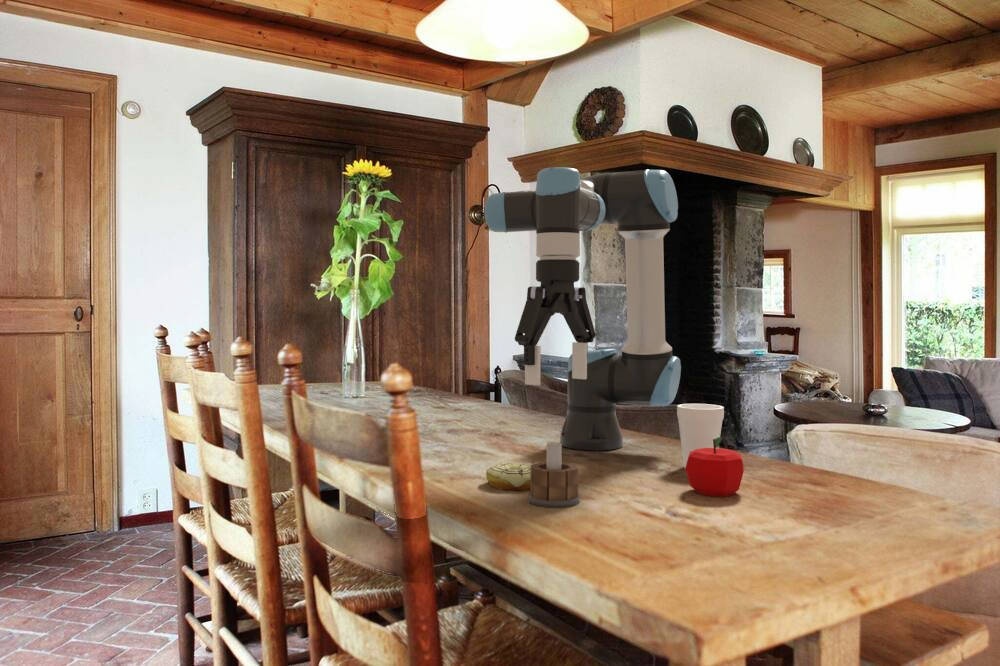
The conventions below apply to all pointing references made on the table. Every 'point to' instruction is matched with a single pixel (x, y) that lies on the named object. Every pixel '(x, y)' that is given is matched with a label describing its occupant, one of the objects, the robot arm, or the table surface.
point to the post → (554, 464)
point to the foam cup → (698, 426)
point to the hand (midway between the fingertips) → (556, 381)
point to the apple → (715, 470)
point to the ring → (554, 482)
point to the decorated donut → (509, 476)
